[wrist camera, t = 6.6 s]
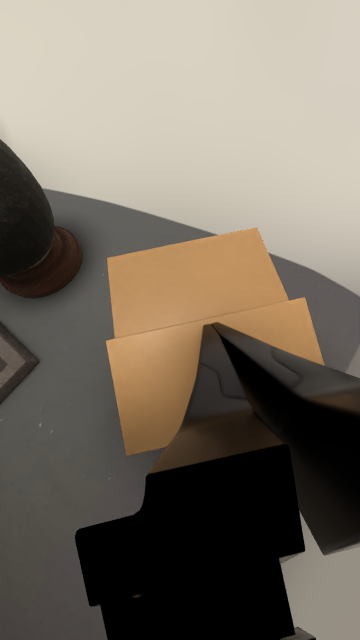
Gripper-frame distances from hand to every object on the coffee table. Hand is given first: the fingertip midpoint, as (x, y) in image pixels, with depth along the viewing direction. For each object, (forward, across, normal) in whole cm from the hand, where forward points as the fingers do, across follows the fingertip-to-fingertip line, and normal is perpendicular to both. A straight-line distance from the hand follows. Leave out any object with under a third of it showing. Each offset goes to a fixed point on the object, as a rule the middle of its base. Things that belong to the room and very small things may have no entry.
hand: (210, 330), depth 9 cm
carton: (+8, 0, +6) cm, 10 cm away
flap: (-1, 0, +2) cm, 3 cm away
